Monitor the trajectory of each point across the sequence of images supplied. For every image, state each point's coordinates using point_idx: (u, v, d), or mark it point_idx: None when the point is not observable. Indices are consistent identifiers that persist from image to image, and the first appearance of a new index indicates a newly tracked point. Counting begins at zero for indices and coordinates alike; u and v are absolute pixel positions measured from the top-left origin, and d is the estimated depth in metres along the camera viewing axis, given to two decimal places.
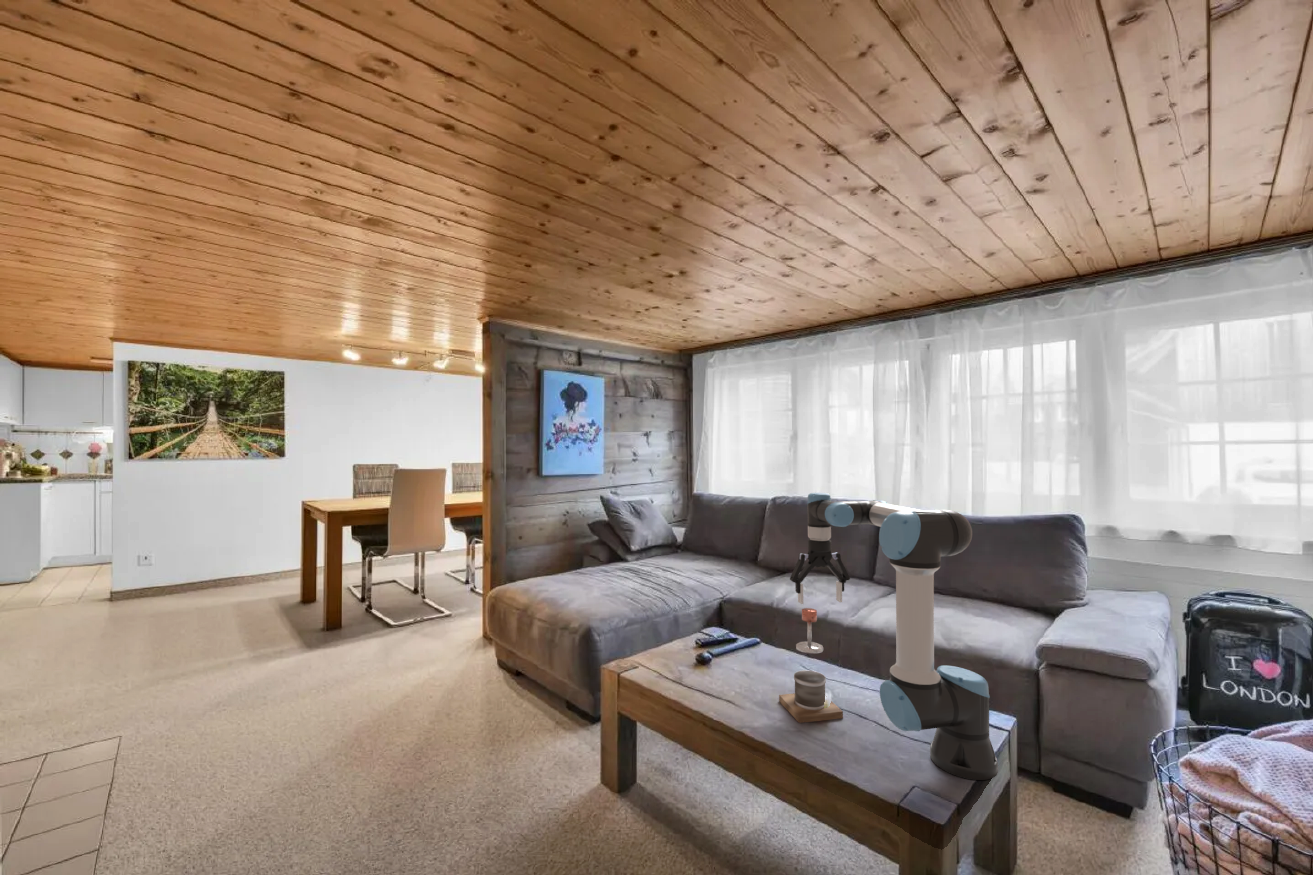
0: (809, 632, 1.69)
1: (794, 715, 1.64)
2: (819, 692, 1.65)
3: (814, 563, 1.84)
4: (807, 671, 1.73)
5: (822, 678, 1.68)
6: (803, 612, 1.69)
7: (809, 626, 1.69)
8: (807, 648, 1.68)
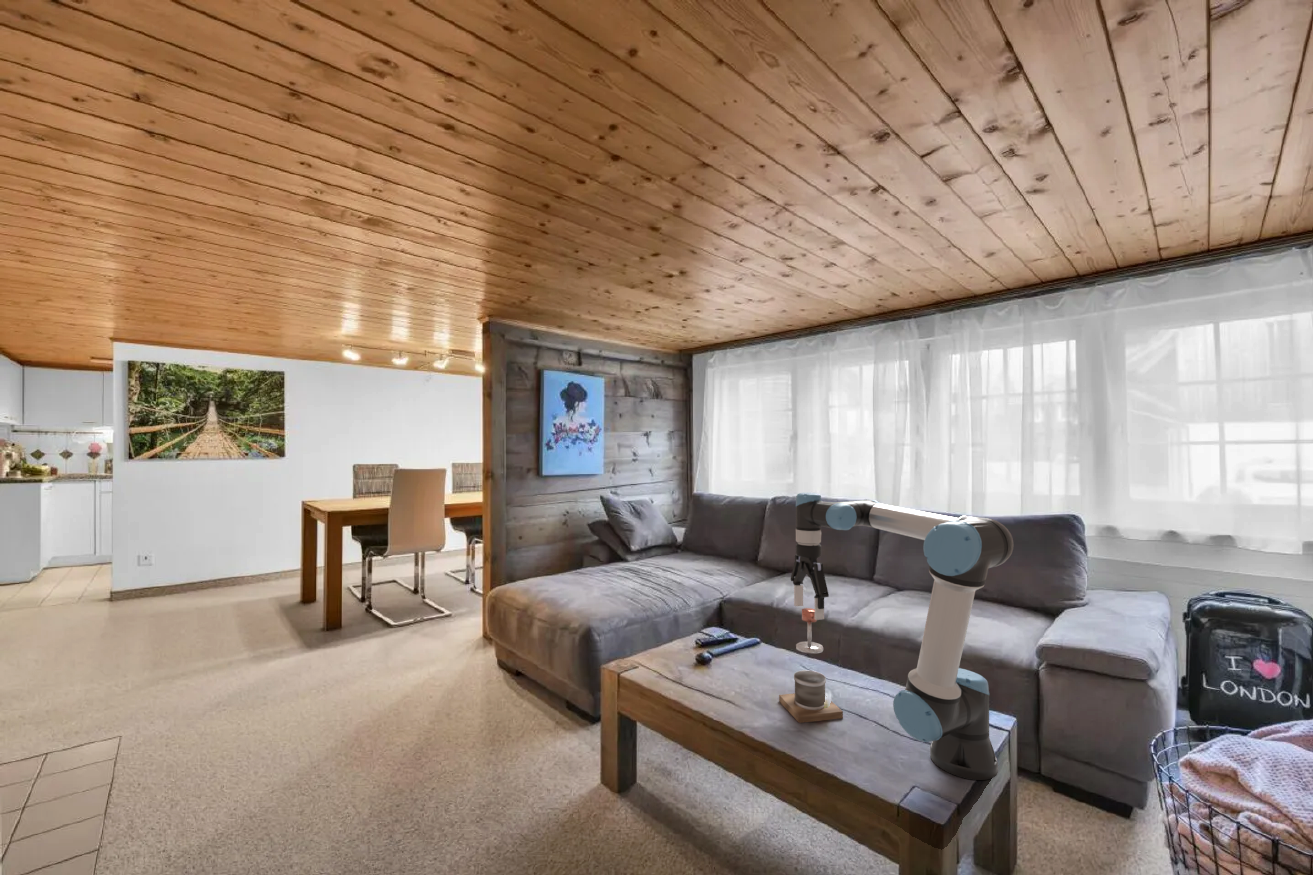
0: (809, 632, 1.69)
1: (794, 715, 1.64)
2: (819, 692, 1.65)
3: (799, 567, 1.72)
4: (807, 671, 1.73)
5: (822, 678, 1.68)
6: (803, 612, 1.69)
7: (809, 626, 1.69)
8: (807, 648, 1.68)
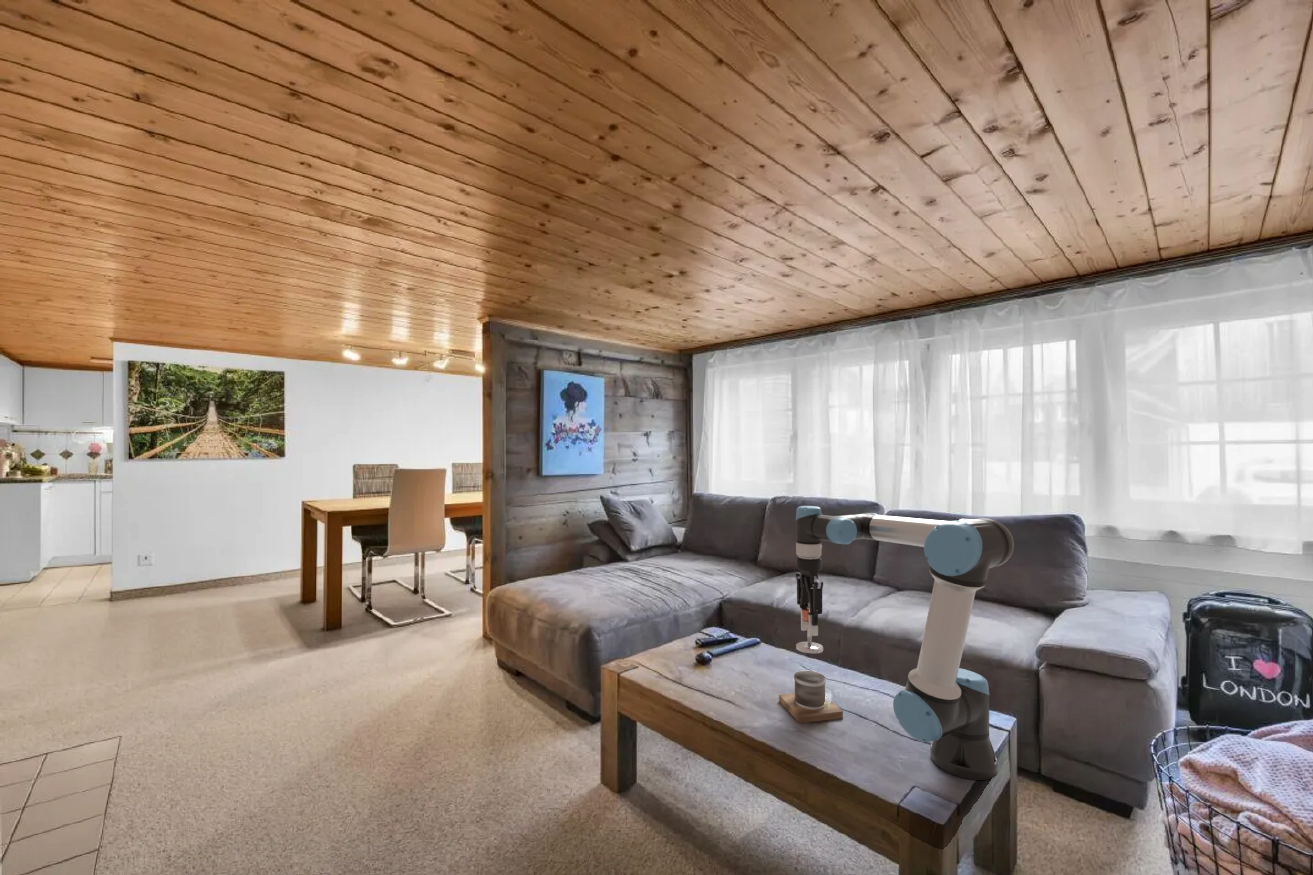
0: None
1: (794, 715, 1.64)
2: (819, 692, 1.65)
3: (801, 582, 1.71)
4: (807, 671, 1.73)
5: (822, 678, 1.68)
6: (803, 612, 1.69)
7: None
8: (807, 648, 1.68)
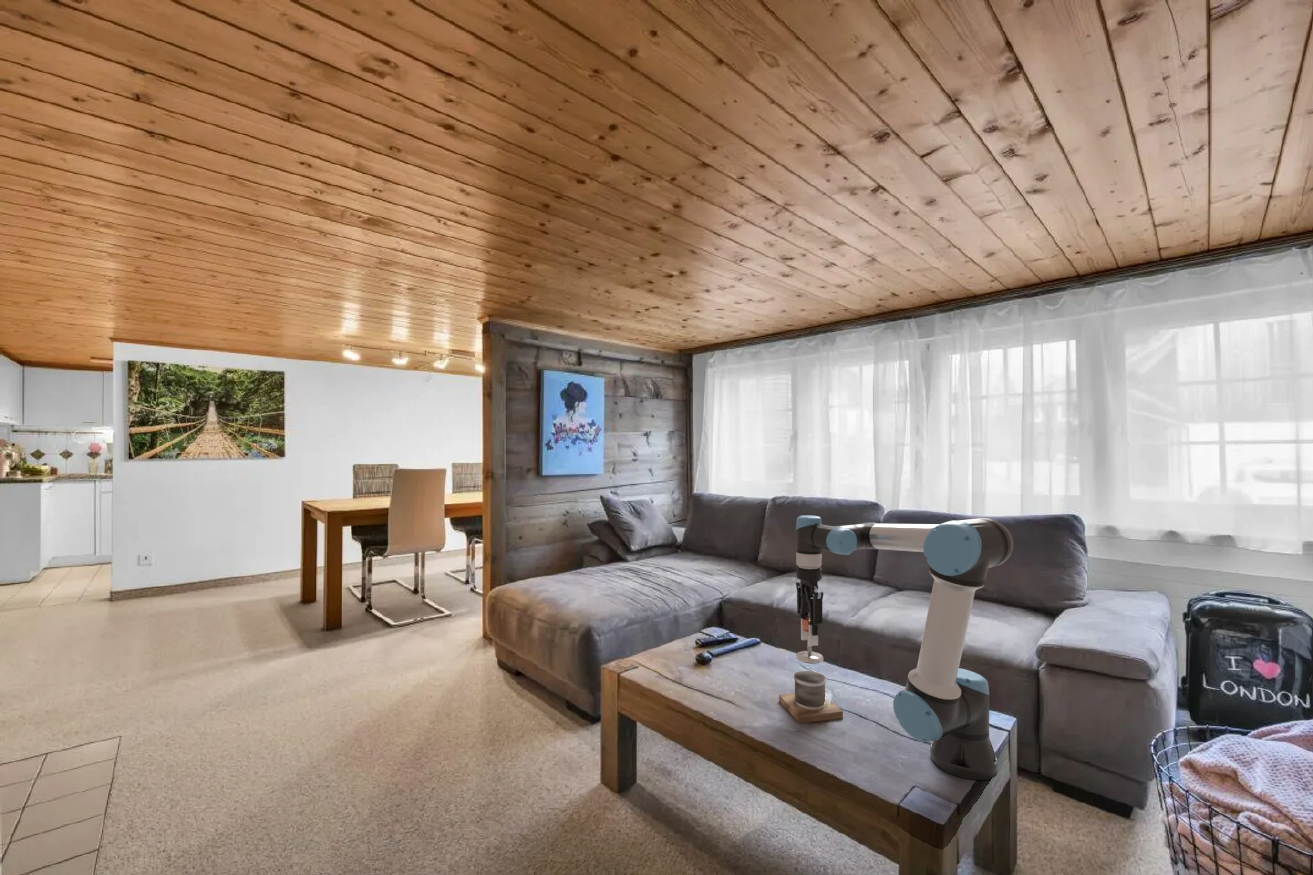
0: None
1: (794, 715, 1.64)
2: (819, 692, 1.65)
3: (801, 592, 1.71)
4: (807, 671, 1.73)
5: (822, 678, 1.68)
6: (803, 622, 1.69)
7: None
8: (807, 658, 1.68)
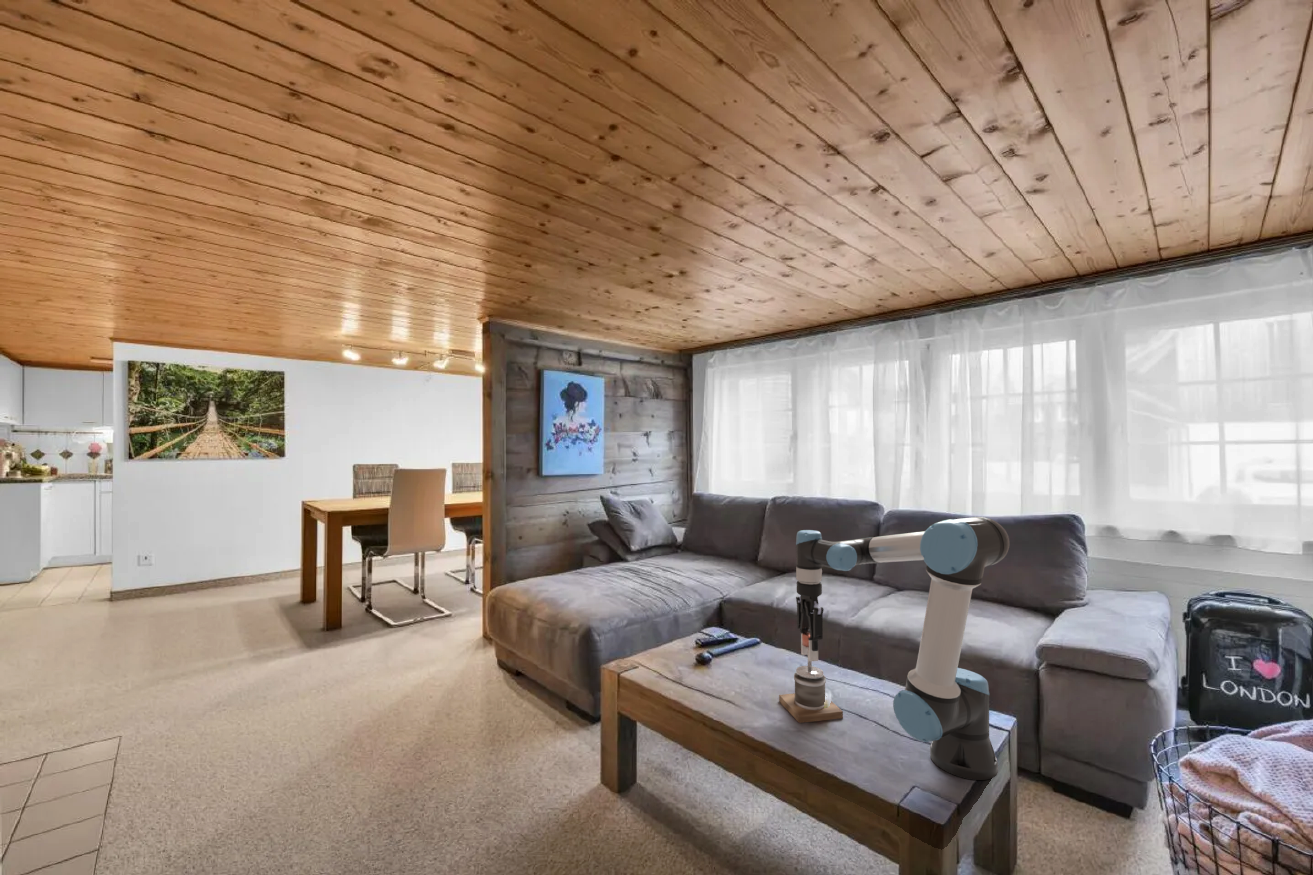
0: None
1: (794, 715, 1.64)
2: (819, 692, 1.65)
3: (801, 607, 1.71)
4: None
5: (822, 678, 1.68)
6: (803, 637, 1.69)
7: None
8: (808, 673, 1.68)
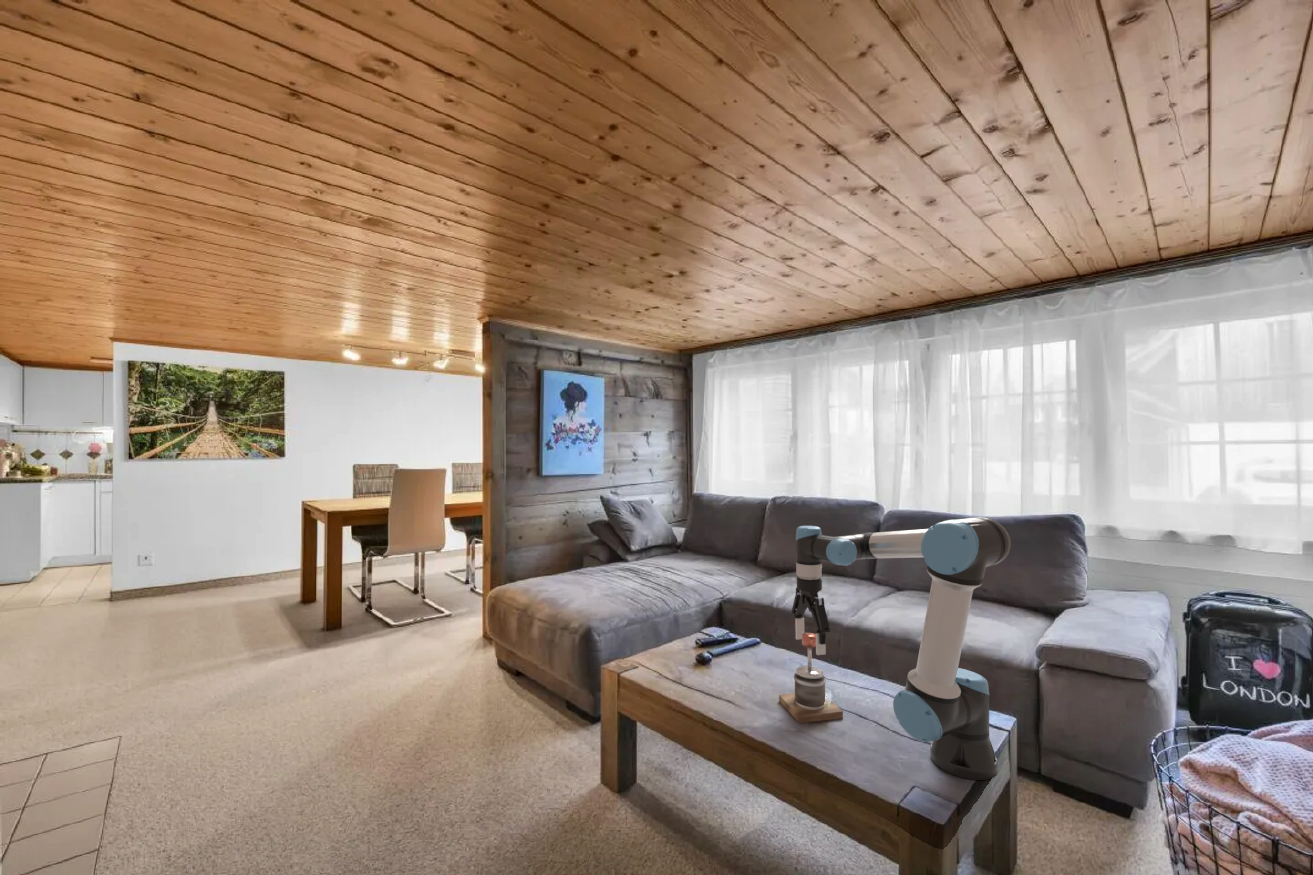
0: (809, 657, 1.69)
1: (794, 715, 1.64)
2: (819, 692, 1.65)
3: (800, 600, 1.72)
4: None
5: (822, 678, 1.68)
6: (803, 637, 1.69)
7: (809, 651, 1.69)
8: (808, 673, 1.68)
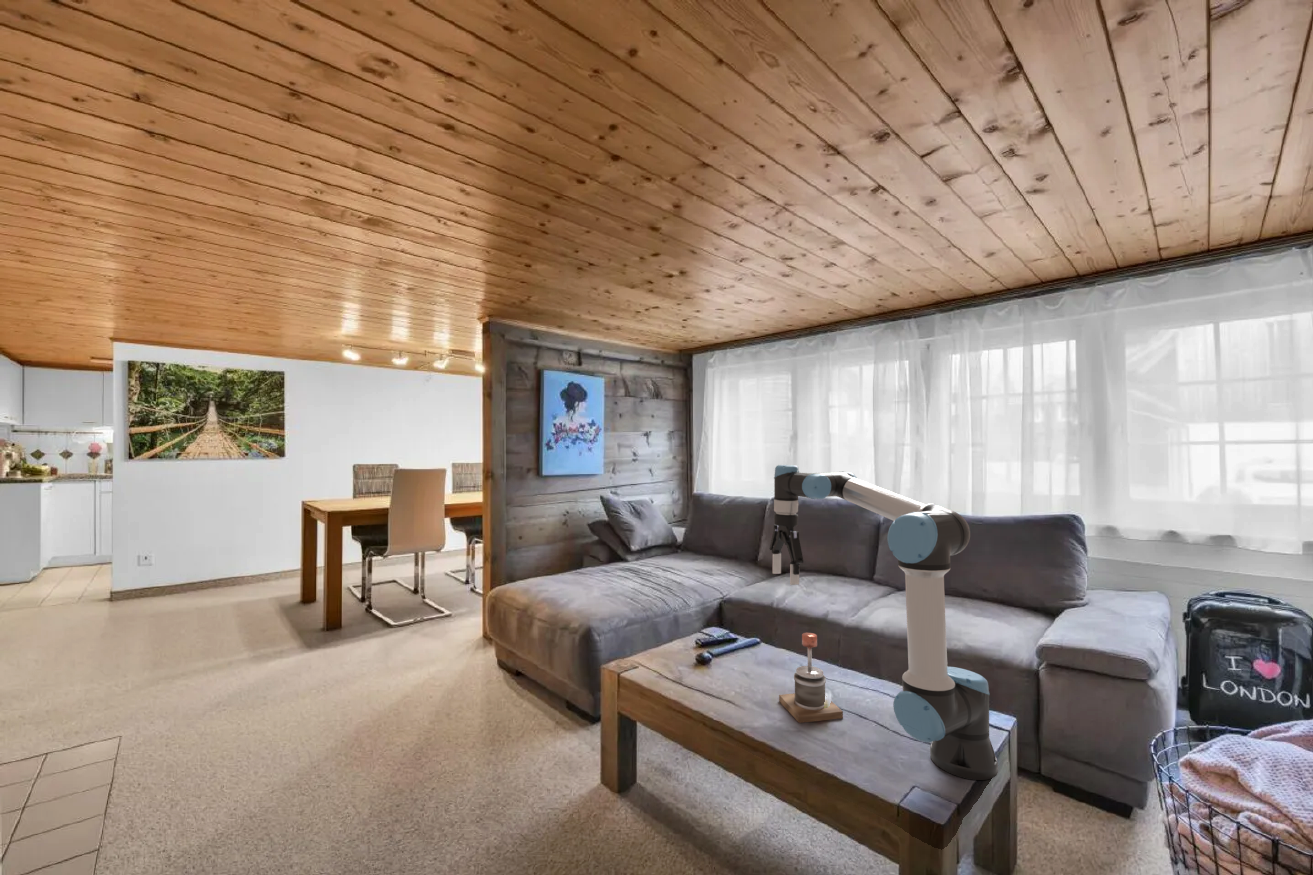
0: (809, 657, 1.69)
1: (794, 715, 1.64)
2: (819, 692, 1.65)
3: (777, 536, 1.80)
4: None
5: (822, 678, 1.68)
6: (803, 637, 1.69)
7: (809, 651, 1.69)
8: (808, 673, 1.68)
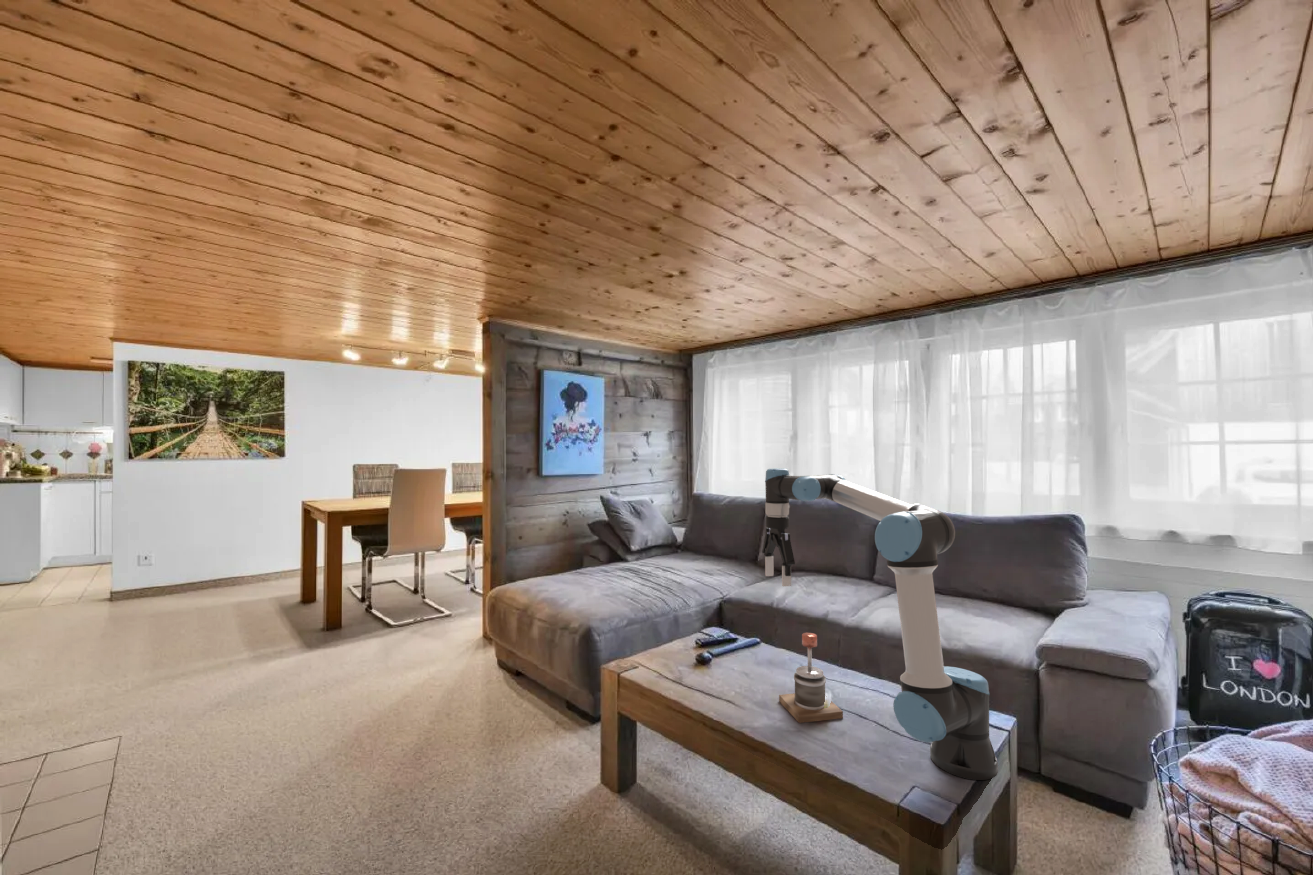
0: (809, 657, 1.69)
1: (794, 715, 1.64)
2: (819, 692, 1.65)
3: (769, 538, 1.83)
4: None
5: (822, 678, 1.68)
6: (803, 637, 1.69)
7: (809, 651, 1.69)
8: (808, 673, 1.68)
